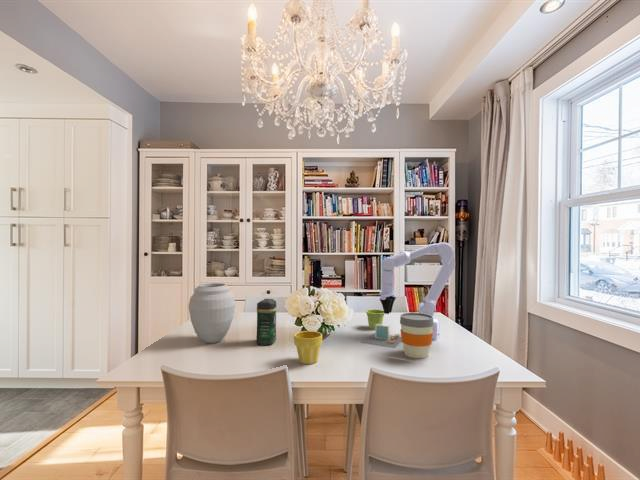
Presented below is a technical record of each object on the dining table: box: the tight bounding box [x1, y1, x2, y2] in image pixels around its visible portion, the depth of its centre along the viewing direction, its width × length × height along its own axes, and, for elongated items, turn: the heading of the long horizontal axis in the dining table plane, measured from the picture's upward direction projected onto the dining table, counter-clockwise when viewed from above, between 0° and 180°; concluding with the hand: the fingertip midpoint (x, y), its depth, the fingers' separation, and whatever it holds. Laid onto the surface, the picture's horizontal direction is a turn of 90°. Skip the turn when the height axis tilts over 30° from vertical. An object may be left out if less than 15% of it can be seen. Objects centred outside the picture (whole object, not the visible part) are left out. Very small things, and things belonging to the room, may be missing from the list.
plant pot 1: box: [293, 330, 323, 365], centre depth 126 cm, size 10×10×10 cm
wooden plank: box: [386, 333, 400, 344], centre depth 150 cm, size 11×3×1 cm, turn 151°
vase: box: [188, 282, 236, 344], centre depth 150 cm, size 20×20×24 cm
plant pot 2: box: [365, 308, 385, 331], centre depth 170 cm, size 9×9×9 cm
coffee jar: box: [256, 298, 277, 346], centre depth 148 cm, size 10×8×19 cm
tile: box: [375, 323, 391, 340], centre depth 152 cm, size 6×2×6 cm, turn 61°
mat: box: [360, 332, 403, 349], centre depth 150 cm, size 15×17×1 cm
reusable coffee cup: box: [399, 312, 434, 359], centre depth 132 cm, size 12×13×15 cm
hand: (387, 312), depth 158 cm, fingers open, 3 cm apart
